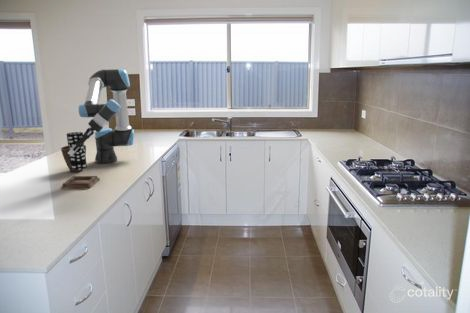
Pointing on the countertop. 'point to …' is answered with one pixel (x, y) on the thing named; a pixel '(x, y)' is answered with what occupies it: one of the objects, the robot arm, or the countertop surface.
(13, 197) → the countertop surface
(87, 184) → the walnut board
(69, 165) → the plant pot
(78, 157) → the white-spotted black cylinder
